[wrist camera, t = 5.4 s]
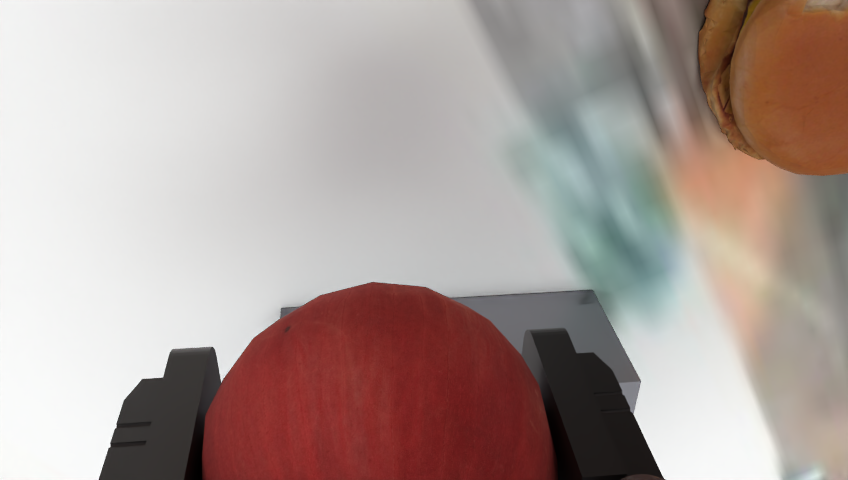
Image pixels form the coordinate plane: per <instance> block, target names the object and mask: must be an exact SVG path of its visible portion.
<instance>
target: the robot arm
mask: <svg viewBox="0 0 848 480" xmlns="http://www.w3.org/2000/svg"><path fill="white" fill-rule="evenodd" d="M522 357H523V359H524V361H525V362H526V364H527V366H528V367H529V369H530V371H531V373H532V374H533V376H534V378H535V379H536V381H537V383H538V384H539V387H540V391H541V395H542V399H543V403H544V407H545V411H546V415H547V420H548V424H549V428H550V432H551V436H552V440H553V444H554V448H555V452H556V456H557V461H558V480H665V479H664V478H663V476H662V474H661V472H660V470H659V468H658V466H657V464H656V462H655V460H654V457H653V455H652V453H651V451H650V449H649V447H648V445H647V442H646V440H645V438H644V436H643V434H642V432H641V430H640V428H639V425H638V423H637V421H636V419H635V417H634V415H633V413H632V412H631V411H630V406H629V404H628V402H627V400H626V398H625V396H624V395H623V394H622V389H621V387H620V385H619V383H618V381H617V378H616V376H615V374H614V372H613V370H612V369H611V368H610V367H609V366H608V365H607V364H606V363H604V362H603V361H602V360H601V359H600V358H599V357H598V356H597V355H596V354H595V353H594V352H589V353H576V350H575V348H574V346H573V343H572V341H571V339H570V336H569V334H568V332H567V330H566V329H565V328H563V327H562V328H545V329H528V330H526V331H525V334H524V340H523V348H522ZM220 385H221V379H220V374H219V368H218V363H217V357H216V352H215V349H214V348H213V347H202V348H185V349H172V350H171V352H170V354H169V358H168V362H167V365H166V369H165V373H164V377H163V378H153V379H142V380H141V381H140V382H139V384H138V385H137V386H136V387H135V388H134V389H133V391H132V392H131V393H130V394H129V395H128V396H127V398H126V399H125V400H124V402H123V405H122V408H121V411H120V415H119V418H118V421H117V428H116V429H115V430H114V433H113V437H112V440H111V447H110V448H109V449H108V452H107V455H106V459H105V462H104V465H103V468H102V471H101V474H100V477H99V480H202V451H203V439H204V427H205V415H206V413H207V411H208V409H209V407H210V405H211V403H212V401H213V399H214V397H215V395H216V393H217V391H218V389H219V387H220Z"/></svg>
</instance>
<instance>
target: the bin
mask: <svg viewBox="0 0 848 480" xmlns="http://www.w3.org/2000/svg"><path fill="white" fill-rule="evenodd" d="M450 299H452V300H455V301H457V302H459V303H461V304H463V305H465V306H468V307H469V308H471V309H472V310H474V311H476V312H477V313H479V314H480V315H482V316H484V317H485V318H487V319H488V320H490V321H491V322H492V323H493V324H494V325H495V326H496V328H497V329H498V330H499V331H500V332H501V333H502V334H503V335H504V336H505V337H506V339H507V340H508V341H509V342H510V343H511V344H512V345H513V346H514V347H515V348H516V350H517V351H518V352H519V353H520V354H521V356H522V348H523V340H524V334H525V331H526V330H528V329H545V328H562V327H563V328H565V329H566V330H567V332H568V334H569V336H570V339H571V341H572V343H573V346H574V348H575V350H576V353H589V352H594V353H595V354H596V355H597V356H598V357H599V358H600V359H601V360H602V361H603V362H604V363H606V364H607V365H608V366H609V367H610V368H611V369H612V370H613V372H614V374H615V376H616V378H617V381H618V383H619V385H620V387H621V389H622V394H623V395H624V396H625V398H626V400H627V402H628V404H629V406H630V411H631V412H632V413H634V409H635V405H636V400H637V396H638V392H639V388H640V383H641V380H640V378H639V377H638V375H637V373H636V371H635V369H634V367H633V365H632V363H631V361H630V360H629V358H628V356H627V354H626V352H625V350H624V348H623V346H622V345H621V343H620V341H619V339H618V337H617V335H616V333H615V331H614V329H613V328H612V326H611V324H610V322H609V320H608V318H607V316H606V314H605V312H604V311H603V309H602V307H601V305H600V303H599V301H598V299H597V297H596V295H595V294H594V292H593V290H586V291H569V292H552V293H535V294H518V295H501V296H484V297H467V298H450ZM298 308H300V307H297V308H281V317H280V319H281V318H283V317H284V316H286V315H288V314H289V313H291V312H293V311H294V310H296V309H298Z"/></svg>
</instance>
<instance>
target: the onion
mask: <svg viewBox="0 0 848 480" xmlns="http://www.w3.org/2000/svg"><path fill="white" fill-rule="evenodd" d="M202 480H558V461H557V456H556V452H555V448H554V444H553V440H552V436H551V432H550V428H549V424H548V420H547V415H546V411H545V407H544V403H543V399H542V395H541V391H540V387H539V384H538V383H537V381H536V379H535V378H534V376H533V374H532V373H531V371H530V369H529V367H528V366H527V364H526V362H525V361H524V359H523V357H522V356H521V354H520V353H519V352H518V351H517V350H516V348H515V347H514V346H513V345H512V344H511V343H510V342H509V341H508V340H507V339H506V337H505V336H504V335H503V334H502V333H501V332H500V331H499V330H498V329H497V328H496V326H495V325H494V324H493V323H492V322H491V321H490V320H488V319H487V318H485V317H484V316H482V315H480V314H479V313H477V312H476V311H474V310H472V309H471V308H469V307H468V306H465V305H463V304H461V303H459V302H457V301H455V300H452V299H450V298H448V297H446V296H444V295H442V294H439V293H437V292H435V291H433V290H431V289H429V288H426V287H420V286H409V285H398V284H387V283H376V282H371V283H367V284H363V285H359V286H355V287H351V288H347V289H343V290H339V291H336V292H332V293H328V294H324V295H320V296H318V297H317V298H315V299H313V300H311V301H310V302H308V303H306V304H305V305H303V306H301V307H300V308H298V309H296V310H294V311H293V312H291V313H289V314H288V315H286V316H284V317H283V318H281V319H279V320H278V321H276V322H275V323H274V324H272V325H271V326H269V327H268V328H267V329H265V330H264V331H263V332H261V333H260V334H258V335H257V336H256V337H254V338H253V340H252V341H251V342H250V344H249V345H248V346H247V348H246V349H245V350H244V352H243V353H242V355H241V356H240V357H239V359H238V360H237V361H236V363H235V364H234V365H233V367H232V368H231V369H230V371H229V372H228V374H227V375H226V376H225V378H224V379H223V381H222V383H221V385H220V387H219V389H218V391H217V393H216V395H215V397H214V399H213V401H212V403H211V405H210V407H209V409H208V411H207V413H206V415H205V427H204V439H203V451H202Z"/></svg>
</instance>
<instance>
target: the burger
mask: <svg viewBox="0 0 848 480" xmlns="http://www.w3.org/2000/svg"><path fill="white" fill-rule="evenodd" d="M704 13H705V16H706V21H705V24H704V26H703V28H702V30H701V31H700V32H699V47H698V57H699V64H700V75H701V81H702V86H703V90H704V92H705V93H706V95H707V101H708V105H709V107H710V109H711V110H712V112H713V113H714V115H715V117H716V118H717V120H718V122H719V125H720V128H721V132H722V133H724V134H726V135H727V138H728V140H729V142H730V143H732V145H733V146H734V149H735V150H736V148H737V149H739V150H740V151H742V152H744V153H745V154H747V155H749V156H751V157H754V158H756V159H759V160H761V159H766V160H767V161H769V162H770V163H772V164H774V165H775V166H777V167H779V168H782V169H784V170H787V171H790V172H793V173H796V174H803V175H819V176H824V175H836V174H846V173H848V0H710V1H709V4H708V6H707V8H706V10H705V11H704Z"/></svg>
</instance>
